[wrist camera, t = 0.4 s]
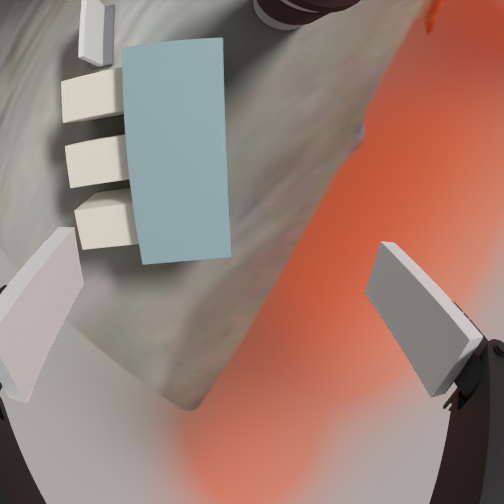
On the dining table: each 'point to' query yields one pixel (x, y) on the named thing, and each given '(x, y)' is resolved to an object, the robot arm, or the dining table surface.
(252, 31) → the dining table surface
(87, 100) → the button
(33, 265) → the robot arm
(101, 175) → the middle button
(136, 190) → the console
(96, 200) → the button
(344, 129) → the dining table surface
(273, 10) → the coffee cup
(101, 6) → the card
